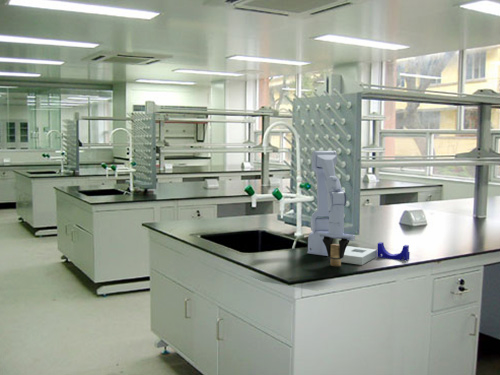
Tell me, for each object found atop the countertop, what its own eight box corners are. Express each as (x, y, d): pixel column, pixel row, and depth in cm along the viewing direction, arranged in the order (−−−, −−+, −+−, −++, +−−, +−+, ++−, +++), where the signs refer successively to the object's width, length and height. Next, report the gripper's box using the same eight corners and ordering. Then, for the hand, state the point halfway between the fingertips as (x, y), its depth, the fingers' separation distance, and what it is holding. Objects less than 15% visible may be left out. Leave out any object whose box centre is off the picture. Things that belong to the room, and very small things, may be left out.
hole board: (331, 260, 202) (331, 253, 202) (347, 252, 216) (347, 246, 216) (362, 264, 195) (362, 257, 195) (376, 256, 209) (376, 249, 209)
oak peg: (328, 265, 194) (328, 245, 193) (332, 263, 198) (333, 243, 197) (338, 266, 192) (338, 246, 191) (342, 264, 195) (342, 244, 195)
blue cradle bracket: (409, 259, 206) (409, 244, 206) (406, 261, 202) (406, 246, 202) (380, 255, 213) (381, 241, 212) (377, 257, 209) (377, 243, 208)
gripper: (314, 222, 194) (314, 256, 195) (350, 225, 186) (349, 261, 187) (322, 219, 200) (322, 253, 201) (357, 222, 192) (356, 257, 193)
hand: (335, 257), depth 195 cm, fingers open, 4 cm apart
